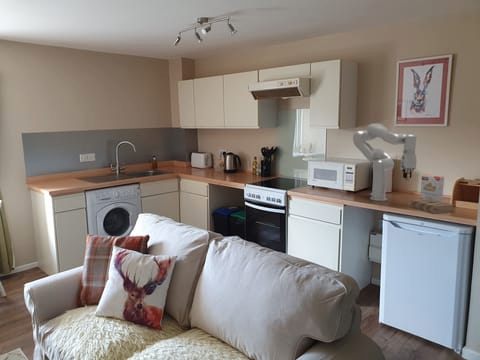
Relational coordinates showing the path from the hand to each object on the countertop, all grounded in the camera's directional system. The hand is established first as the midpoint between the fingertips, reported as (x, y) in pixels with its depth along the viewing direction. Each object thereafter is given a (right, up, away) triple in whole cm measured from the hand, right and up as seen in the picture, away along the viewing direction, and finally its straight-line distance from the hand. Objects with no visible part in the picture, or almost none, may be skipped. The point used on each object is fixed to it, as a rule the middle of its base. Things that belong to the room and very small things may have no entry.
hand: (407, 177), depth 261 cm
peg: (0, -2, 0) cm, 2 cm away
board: (+12, -22, -10) cm, 27 cm away
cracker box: (+21, -19, +9) cm, 30 cm away
